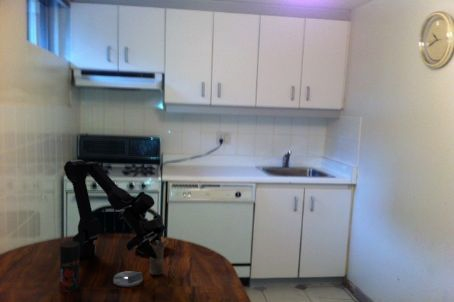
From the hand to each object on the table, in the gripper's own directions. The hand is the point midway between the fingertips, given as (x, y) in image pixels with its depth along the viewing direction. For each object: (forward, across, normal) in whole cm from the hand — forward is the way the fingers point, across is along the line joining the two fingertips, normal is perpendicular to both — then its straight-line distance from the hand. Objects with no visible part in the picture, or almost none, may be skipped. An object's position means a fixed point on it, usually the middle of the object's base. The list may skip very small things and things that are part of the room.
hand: (159, 255), depth 140 cm
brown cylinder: (+4, 0, +6) cm, 7 cm away
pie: (-6, +20, +17) cm, 27 cm away
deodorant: (-9, -23, +20) cm, 32 cm away
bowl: (0, -9, +10) cm, 14 cm away
